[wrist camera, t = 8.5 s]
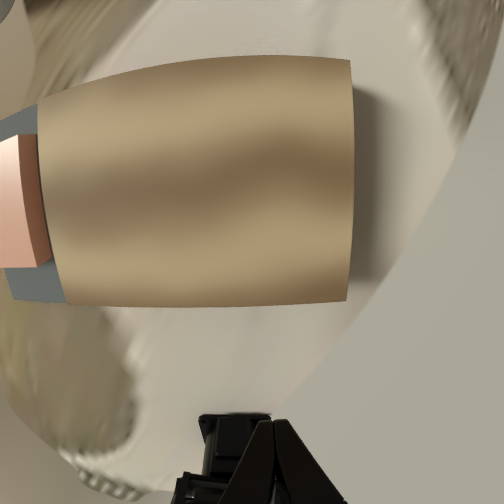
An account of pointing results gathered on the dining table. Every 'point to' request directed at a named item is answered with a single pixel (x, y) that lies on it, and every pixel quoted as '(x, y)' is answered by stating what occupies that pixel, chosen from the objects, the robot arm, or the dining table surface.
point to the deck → (202, 183)
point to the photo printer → (5, 8)
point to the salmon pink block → (21, 205)
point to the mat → (46, 275)
